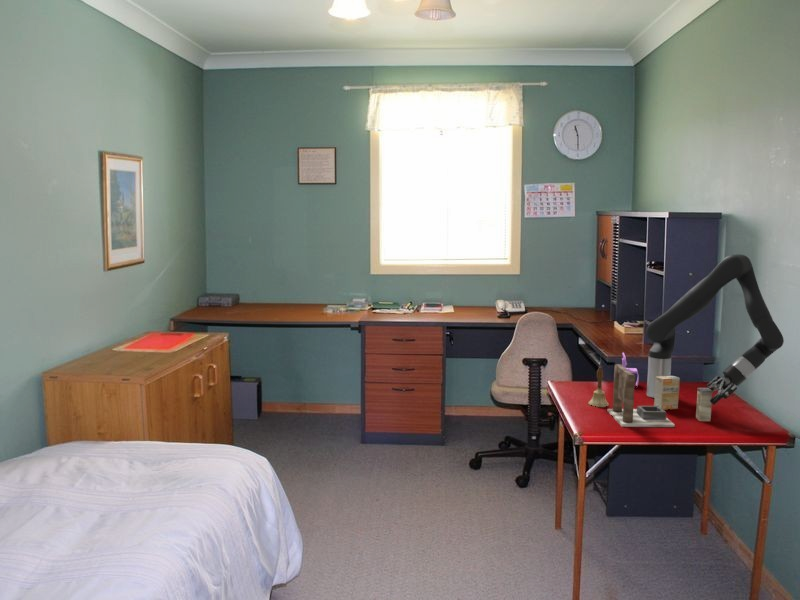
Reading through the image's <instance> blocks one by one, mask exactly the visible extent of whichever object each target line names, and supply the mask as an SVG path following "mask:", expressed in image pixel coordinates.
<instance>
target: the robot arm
mask: <svg viewBox="0 0 800 600" xmlns="http://www.w3.org/2000/svg"><path fill="white" fill-rule="evenodd" d="M756 278H757V277H756V274H755V270H754V267H753V263H752V261H751V259H750V258H749V257H748V256H747V255H745V254H730V255H727V256H726V257H723V259H722V260H721V261H720V262H719V263H718V264H717V265H716V266H715V267H714V268H713V270H711V272H709V274H708V275H707V276H705V277H704V278H702V279H701V280H700V281H699V282H697V283H696V284H695V285H694V286H693V287H691V289H689V290H688V291H687V292H686V293H684V295H683V296H681V297H680V299H678V300H677V301H676V302H675V303H674V304H673V305H672V306H670V307H669V309H667V311H665V312H664V313H662V314H661V315H660V316H659V317H657V318H655V319H654V320H653V321H651V322H650V323H649V324H648V325H647V328H646V332H645V333H646V337H647V338H648V340H650V341H651V342H653V344H652V346H651V347H650V348H649V350H648V363H647V379H646V381H647V382H646V396H647V397H650V398H651V399H652V398H653V399H655V385H656V376H658V377H660V376H671V373H672V372H671V371H672V355H673V352H674V349H675V340H676V327H678V326H679V325H680V324H682V323H684V322H686V321H687V320H690V319H691V318H693V317H695V316H696V315H698V314H699V313H700V312H702V311H703V310H704V309H705V308H707V307H708V306H710V304H711V303H712V301H713V300H714V299H715V297H716V296H717V294H718V293H719V291H720V290H722V289H723V287H724V286H726V285H727V284H728V283H730V282H732V281H733V280H735V279H736V280H737V282H738V284H739V286H740V287H741V290H742V292H743V298H744V304H745V309H746V312H747V314H748V316H749V318H750V320H751V323H752V325H753V326H754V328H755V329H756V330H757V331H758V333H759V336H760V338H759V339H758V340H757V341H756V342H755V344H753V346H751V347H750V348H749V349H747V350H745V352H743V354H742V355H740V356H739V357H738V358H737V359H735V360H734V361H732V363H730V364H729V365H728V366H727V367H726V368H725V369H724V370H723V371H722V374H723V376H722V377H721V376H720V375H716V376H715V377H714V378H713V379H712V380H710V381H709V382H708V383H707V384H706V386H707V387H706V388H709V389H711V390H712V391H713V392H712V393H714V392H716V391H717V393H716V394H715V395H714V396H712V399H711V400H710V402H711V403H712V404H711V405H713V406H714V405H716V404H717V403H718V402H720V400H722V399H728V398H730V396H731V395H732V394H733V393H735V392H736V390H737V389H738V387H739V386H740V385H741V384H742V383H743V382H745V380H747V379H748V378H749V377H750V376H751V375H752V374H753V373H754V372H755V371H756V370H757V369H758V368H759V367H760V366H761V365H762V364H763V363H764V362H765V360H766V359H767V358H769V357H770V356H771V355H772V354H774V353H775V352H776V351H777V350H779V349H780V348H781V347H783V345H784V341H785V340H784V337H783V334H782V332H781V330H780V329H779V327H778V326H777V324H776V323H775V321H774V319H773V317H772V315H771V313H770V311H769V308H768V306H767V304H766V302H765V299H764V297H763V295H762V293H761V290H760V287H759V284H758V281H757V279H756Z"/></svg>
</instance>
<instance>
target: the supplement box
mask: <svg viewBox="0 0 800 600" xmlns="http://www.w3.org/2000/svg"><path fill="white" fill-rule="evenodd" d="M680 380H681V379H680V377H679V376H675V375H670V376H660V377H658V376H656V385H655V398H654V400H653V401H654V402H653V406H659V407H660V408H662V409H663V410H664V411H668V409H670V410H678V409H679V408H678V407H679V395H680Z"/></svg>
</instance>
